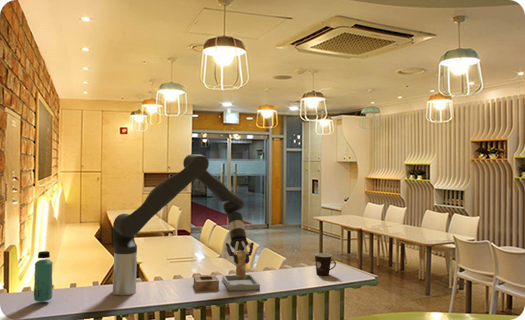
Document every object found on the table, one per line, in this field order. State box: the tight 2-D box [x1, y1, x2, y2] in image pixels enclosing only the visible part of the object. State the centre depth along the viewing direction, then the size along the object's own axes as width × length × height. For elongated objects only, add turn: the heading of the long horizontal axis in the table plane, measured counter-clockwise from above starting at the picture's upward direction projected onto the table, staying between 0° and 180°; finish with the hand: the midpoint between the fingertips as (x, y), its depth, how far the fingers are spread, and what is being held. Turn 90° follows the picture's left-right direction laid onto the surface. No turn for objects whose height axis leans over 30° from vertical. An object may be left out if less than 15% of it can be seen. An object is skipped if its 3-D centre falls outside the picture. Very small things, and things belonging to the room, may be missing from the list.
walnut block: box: [193, 274, 220, 292], centre depth 193 cm, size 10×10×4 cm
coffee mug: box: [314, 252, 337, 277], centre depth 219 cm, size 12×9×10 cm
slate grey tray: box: [221, 273, 261, 293], centre depth 198 cm, size 14×17×2 cm
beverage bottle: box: [33, 250, 53, 302], centre depth 167 cm, size 6×7×20 cm
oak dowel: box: [235, 251, 247, 280], centre depth 198 cm, size 4×4×12 cm
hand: (242, 262), depth 196 cm, fingers closed on oak dowel, 4 cm apart
